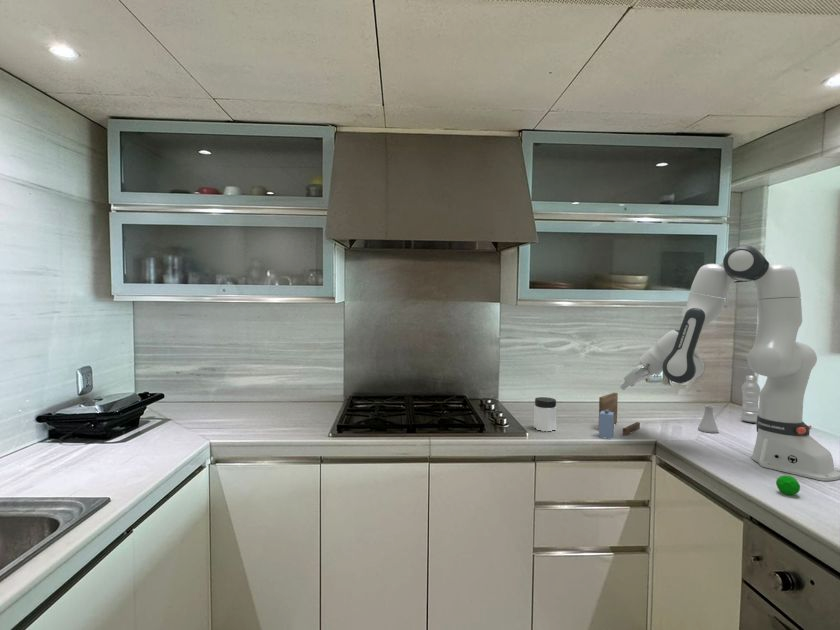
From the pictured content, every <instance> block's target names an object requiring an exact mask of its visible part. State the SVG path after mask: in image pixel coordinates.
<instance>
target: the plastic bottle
mask: <svg viewBox="0 0 840 630" xmlns="http://www.w3.org/2000/svg"><path fill="white" fill-rule="evenodd" d="M757 381H758V376H756V375H752V374H751V375H750V374H749V375H748V374H747V375H746V376H745V381H744V382H743V384H742V385H741V393H742V394H741V395H742V407H741V411H740V418H741V420H742V421H743V422H747V423H756V422H757V416H758V415H759V396H760V391H761V386H760V385H759V384H758V383H757Z"/></svg>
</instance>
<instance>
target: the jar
mask: <svg viewBox="0 0 840 630" xmlns="http://www.w3.org/2000/svg"><path fill="white" fill-rule="evenodd" d="M557 410H558V407H557V400H556V399H555V398H553V397H548V396H547V397H545V396H544V397H543V396H540V397H535V398H534V405H533V428H534V427H535V428H536V429H537V430H544V431H551V432H553V431H552V430H556V431H557V415H558V414H557V412H558V411H557ZM535 428H534V429H535ZM536 429H535V430H536ZM537 430H536V431H537ZM544 431H543V432H544Z"/></svg>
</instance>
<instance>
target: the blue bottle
mask: <svg viewBox="0 0 840 630" xmlns="http://www.w3.org/2000/svg"><path fill="white" fill-rule="evenodd" d="M614 429H615V425H614V412H609V410H608V409H606V410H605V411H601V412H600V414H599V413H598V438H602V437H606V438H605V439H608V438H612V437H614V436H613V435H615V434H614V431H615V430H614ZM612 439H613V438H612Z"/></svg>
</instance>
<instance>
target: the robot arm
mask: <svg viewBox="0 0 840 630" xmlns="http://www.w3.org/2000/svg"><path fill="white" fill-rule="evenodd" d="M745 282H746V283H748V282H752V283H754V285H755V287H756V296H757V297H756V299H757V316H758V317H757V319H758V321H757V323H758V324H757V329H756V336H755V340H754V344H753V347H752V349H751V350H750V351H749V352H748V355H747V357H746V358H747V359H746V360H747V365H748V366H749V368H750V370H752V372H754V373H755V374H757V375H760V376H764V377H766V380H765V383H764V385H763V387H762V388H761V389H760V395H759V401H758V407H759V415H758V416H757V422H756V424H755V427H756V440H755V443H754V448H753V450H752V453H751V456H750V458H751V459H752V460H753V461H755V462H756V463H758V465H759V466H761V467H763V468H765V469H772V470H775V471H780V472H782V473H783V472H784V473H788V474H792V475H795V476H800V477H804V478H805V477H806V478H810V479H813V480H818V481H822V482H823V481H824V482H828V481H829V482H830V481H836V480H840V468H837V467H835V463H834V459H833V455H832V452H831V451H830V450H829V449H827V448H826V447H825V446H823V445H822V444H821V443H819V442H818V441H817V440H816V439H815V438H813V437H812V436H811V435H810V430H812V427H813V426H812V425H810V424H809V425H807V424H806V423H805V422H804V421H803V414H804V399H805V398H804V397H805V393H806V390H807V386H808V383H809V379H810V376H811V373H812V370H813V369H814V367H815V366H816V364H817V359H818V356H817V354H816V352H815V350H814V349H813V348H812V347H811V346H809V345H808V344H804V343H803V342H799V341H797V336H798V332H799V329H800V328H801V326H802V323H803V310H802V309H803V307H802V299H801V298H802V296H801V295H802V294H801V287H800V283H799V282H800V281H799V278H798V276H797V271H796V270H795V268H793V267H792V266H791V265H788V264H782V263H777V264H775V263H774V264H773V263H770V262H769V261H768V260H767V258H766V257H765V255H764V254H763V252H761V251H760V250H759V249H757V248H756V247H753V246H752V245H743V244H742V245H738V246H734V247H733V248H731V249H729V250H728V251H727V252H726V253H725V255H724V256H723V259H722V263H719V264H718V263H706V264H704V265H702V266H700V268H699V269H698V270H697V272H696V274H695V276H694V279H693V281H692V284H691V287H690V290H689V293H688V297H687V301H686V305H685V306H686V307H685V311H684V314H683V319H682V322H681V323H680V324H681V325H680V327H679V329H672V330H670V331H668V332H667V333H666V334H663V335H662V336H661V337H660V338H659V339H658V340H657V341H656V343H655V344H654V345H653V346H652V347H650V348H648V349H647V350H646V351H645V352H644V353H643V354H641V356H640V357H639V362H638V365H637V366H635V368H632V370H630V372H629V373H628V374H626V375H625V376H624V378H623V380H624V382H623V383H622V384H621V385H620V389H621V390H622V391H625V390H626V389H627V388H628V387H634V386H635V385H636V384H637V383H640V382H641V381H644V380H646V379H649V378H650V377H651V376H653V375H660V374H661V373H662V372H663V375H664V376H665V377H666V378H667V379H668V380H669V381H671V382H673V383H676V384H684V383H687V382H689V381H692V380H694V379H698V378H700V377H701V376H702V375H704V373H705V369H706V364H705V361H704V360H703V359H702V357H701V356H700V354H699V353H698V350H697V346H698V343H699V340H700V337H701V334H702V332H703V331H704V330H705V328H706V327H707V326H708V325H709V324H710V323H712V322H714V321H715V320H716V319H717V318H718V317H720V314H721V312H722V310H723V308H724V305H725V302H726V299H727V296H728V292H729V289H730V287H731V285H732V284H733V283H734V284H736V283H745Z"/></svg>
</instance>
